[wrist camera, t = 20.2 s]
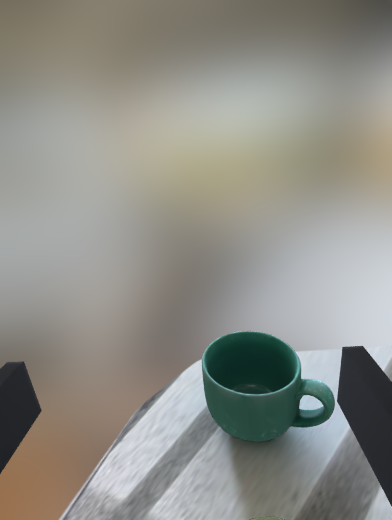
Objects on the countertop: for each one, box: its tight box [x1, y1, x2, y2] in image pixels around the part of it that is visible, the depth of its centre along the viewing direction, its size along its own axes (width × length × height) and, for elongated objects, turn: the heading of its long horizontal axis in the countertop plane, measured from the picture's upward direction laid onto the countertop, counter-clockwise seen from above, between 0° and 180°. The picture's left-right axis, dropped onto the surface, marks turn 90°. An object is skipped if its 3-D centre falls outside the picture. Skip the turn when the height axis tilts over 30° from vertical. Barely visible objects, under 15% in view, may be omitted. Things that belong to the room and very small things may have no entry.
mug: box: [202, 331, 335, 441], centre depth 38 cm, size 17×13×10 cm
